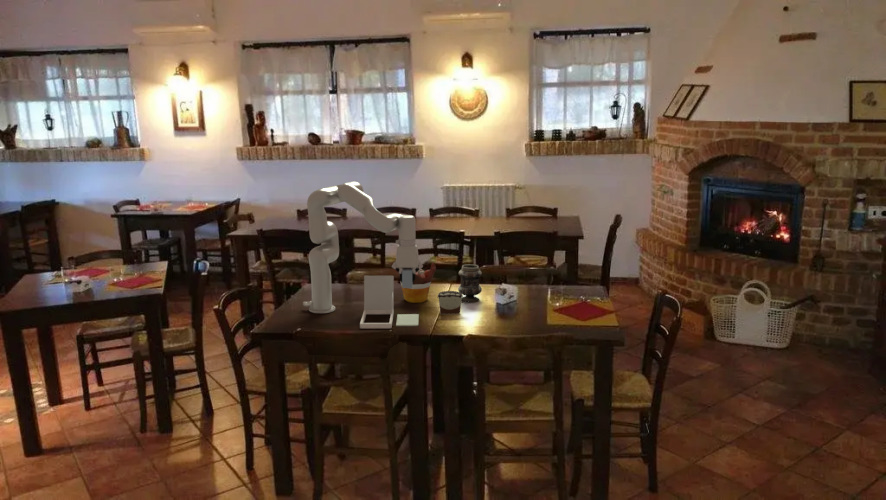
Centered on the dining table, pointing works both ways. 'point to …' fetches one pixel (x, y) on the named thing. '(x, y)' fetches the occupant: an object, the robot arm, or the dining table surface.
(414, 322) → the mat
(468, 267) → the apothecary jar
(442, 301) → the food container
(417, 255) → the robot arm
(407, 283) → the box
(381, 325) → the case
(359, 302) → the dining table surface
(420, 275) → the bucket of meat
